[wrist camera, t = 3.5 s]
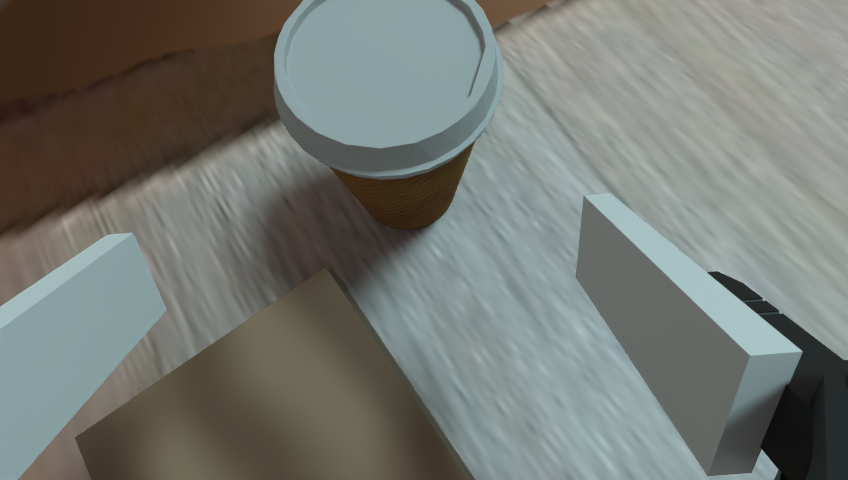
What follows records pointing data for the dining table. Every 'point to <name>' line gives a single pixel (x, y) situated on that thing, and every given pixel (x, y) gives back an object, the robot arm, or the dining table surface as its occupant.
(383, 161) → the disposable coffee cup
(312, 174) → the dining table surface
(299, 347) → the walnut base
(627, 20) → the dining table surface
